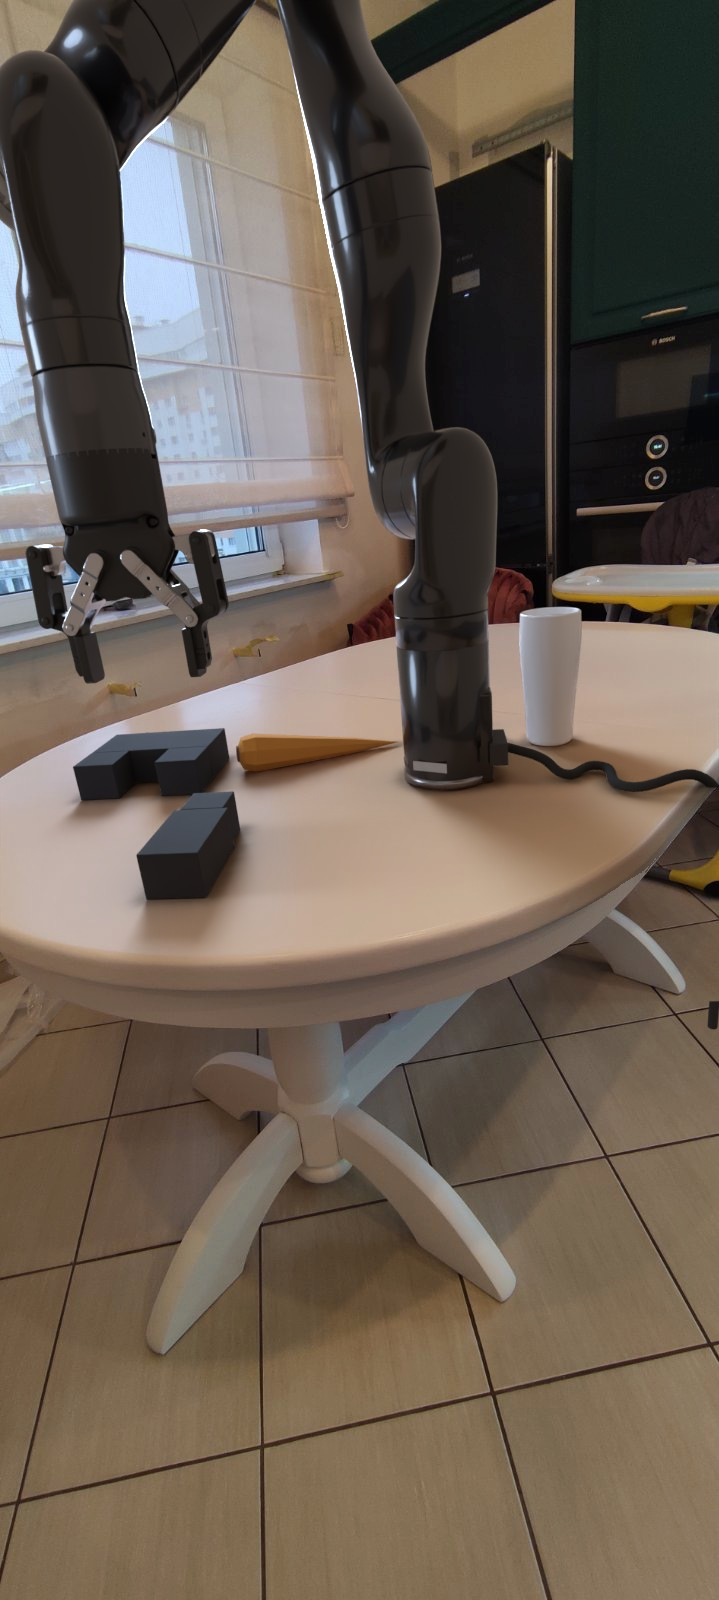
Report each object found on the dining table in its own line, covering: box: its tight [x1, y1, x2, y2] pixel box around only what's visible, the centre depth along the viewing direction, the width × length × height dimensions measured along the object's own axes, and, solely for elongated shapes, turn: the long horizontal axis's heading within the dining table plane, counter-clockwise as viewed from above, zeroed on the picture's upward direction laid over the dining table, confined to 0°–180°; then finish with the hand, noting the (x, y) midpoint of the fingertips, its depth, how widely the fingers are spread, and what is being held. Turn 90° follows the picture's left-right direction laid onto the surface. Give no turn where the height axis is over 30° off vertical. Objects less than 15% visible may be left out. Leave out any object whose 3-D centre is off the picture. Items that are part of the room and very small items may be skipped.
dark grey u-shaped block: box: [72, 727, 230, 801], centre depth 85 cm, size 14×12×4 cm
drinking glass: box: [518, 606, 583, 747], centre depth 83 cm, size 7×7×15 cm
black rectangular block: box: [135, 790, 241, 900], centre depth 63 cm, size 5×13×4 cm, turn 175°
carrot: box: [235, 733, 398, 773], centre depth 87 cm, size 20×4×4 cm, turn 106°
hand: (147, 678), depth 57 cm, fingers open, 8 cm apart
